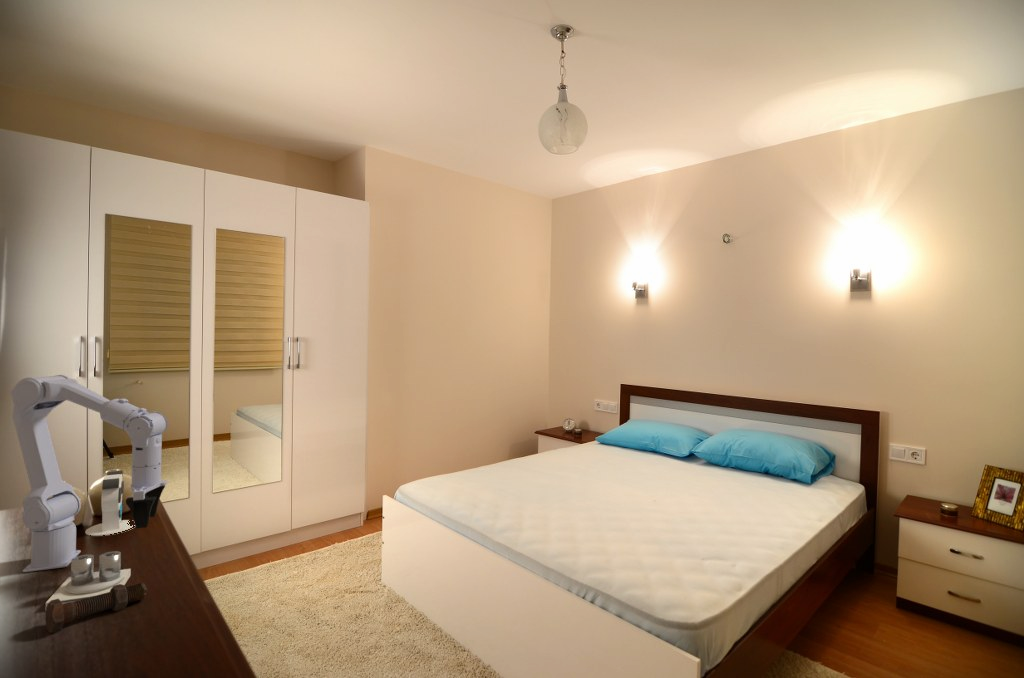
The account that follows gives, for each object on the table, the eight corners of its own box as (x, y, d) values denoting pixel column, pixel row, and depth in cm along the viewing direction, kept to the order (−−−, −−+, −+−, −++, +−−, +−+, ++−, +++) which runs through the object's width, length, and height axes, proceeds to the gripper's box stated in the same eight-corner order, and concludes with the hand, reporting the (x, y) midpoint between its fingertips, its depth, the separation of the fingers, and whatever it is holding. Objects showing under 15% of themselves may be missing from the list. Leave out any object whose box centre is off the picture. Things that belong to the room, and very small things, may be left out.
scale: (69, 584, 112) (69, 573, 112) (131, 575, 117) (131, 564, 117) (44, 612, 101) (44, 599, 101) (114, 601, 105) (114, 589, 105)
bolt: (145, 610, 106) (48, 640, 94) (138, 591, 109) (43, 618, 97) (151, 589, 105) (54, 617, 93) (144, 570, 107) (49, 595, 95)
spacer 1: (74, 579, 110) (75, 555, 110) (95, 576, 111) (96, 553, 111) (68, 587, 106) (68, 562, 106) (89, 584, 108) (90, 559, 108)
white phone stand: (134, 531, 143) (135, 477, 143) (81, 539, 137) (82, 482, 137) (138, 518, 153) (139, 467, 153) (88, 525, 147) (89, 472, 147)
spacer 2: (102, 575, 111) (102, 552, 111) (122, 573, 113) (123, 549, 113) (96, 583, 108) (96, 558, 108) (117, 580, 109) (117, 556, 109)
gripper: (160, 470, 118) (159, 530, 118) (172, 456, 131) (171, 510, 131) (122, 473, 115) (121, 534, 115) (139, 458, 128) (138, 513, 128)
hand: (145, 522), depth 123 cm, fingers open, 7 cm apart
